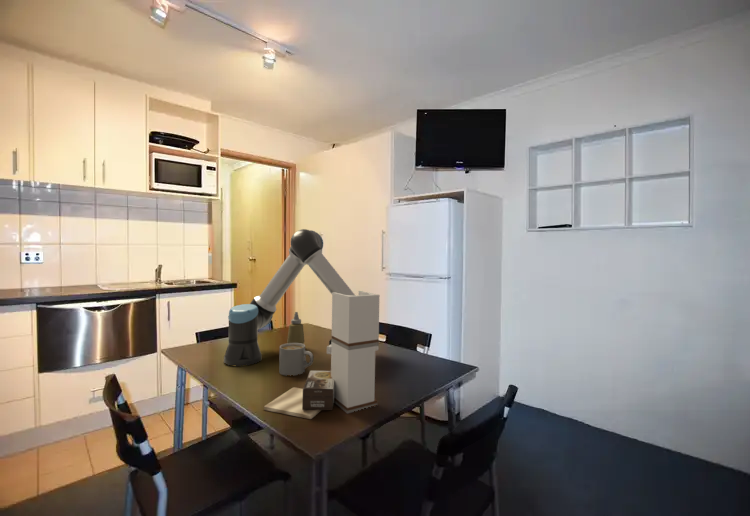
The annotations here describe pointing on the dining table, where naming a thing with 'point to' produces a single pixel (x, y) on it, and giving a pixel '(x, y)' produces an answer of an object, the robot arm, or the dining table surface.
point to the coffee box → (318, 391)
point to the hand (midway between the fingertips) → (328, 350)
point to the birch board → (291, 404)
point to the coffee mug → (293, 359)
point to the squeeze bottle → (296, 331)
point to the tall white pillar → (354, 349)
